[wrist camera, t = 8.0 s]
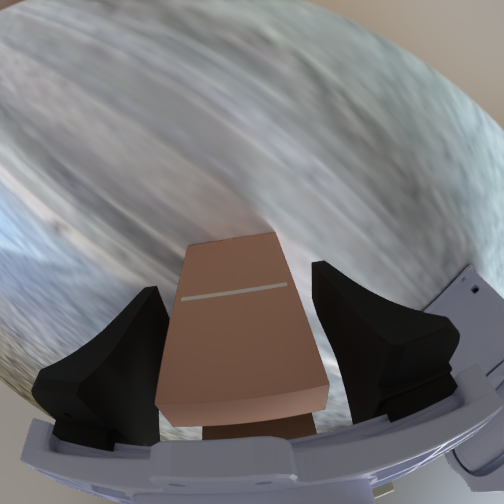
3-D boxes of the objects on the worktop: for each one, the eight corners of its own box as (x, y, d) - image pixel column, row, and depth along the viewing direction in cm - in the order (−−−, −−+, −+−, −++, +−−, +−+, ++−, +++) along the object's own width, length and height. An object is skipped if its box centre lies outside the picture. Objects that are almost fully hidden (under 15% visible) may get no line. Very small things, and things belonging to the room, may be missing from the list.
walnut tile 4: (207, 312, 18) (202, 456, 9) (282, 300, 18) (319, 442, 9) (212, 329, 19) (211, 465, 10) (283, 318, 19) (316, 452, 10)
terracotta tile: (188, 245, 15) (154, 404, 7) (275, 231, 15) (329, 384, 7) (194, 269, 16) (173, 426, 7) (277, 256, 16) (325, 409, 7)
